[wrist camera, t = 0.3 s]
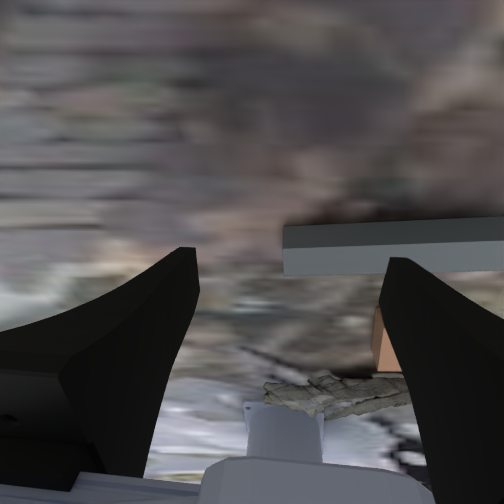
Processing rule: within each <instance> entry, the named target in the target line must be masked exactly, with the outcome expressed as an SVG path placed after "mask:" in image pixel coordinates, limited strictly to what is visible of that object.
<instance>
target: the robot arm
mask: <svg viewBox="0 0 504 504" xmlns="http://www.w3.org/2000/svg"><path fill="white" fill-rule="evenodd" d="M199 293H200V286H199V277H198V267H197V258H196V248H193V247H179V248H177V249H176V250H174V251H173V252H171V253H170V254H168V255H167V256H165V257H164V258H163V259H161V260H160V261H158V262H157V263H155V264H154V265H153V266H151V267H150V268H148V269H147V270H145V271H144V272H142V273H141V274H139V275H137V276H136V277H134V278H133V279H131V280H129V281H128V282H126V283H125V284H123V285H121V286H120V287H118V288H116V289H114V290H112V291H110V292H108V293H106V294H104V295H102V296H100V297H98V298H96V299H94V300H92V301H90V302H87V303H85V304H82V305H80V306H78V307H75V308H73V309H71V310H68V311H66V312H63V313H60V314H58V315H55V316H52V317H49V318H46V319H43V320H40V321H37V322H34V323H31V324H27V325H24V326H21V327H17V328H13V329H9V330H6V331H2V332H0V504H504V319H502V318H500V317H499V316H497V315H495V314H493V313H491V312H490V311H488V310H486V309H484V308H483V307H481V306H479V305H478V304H476V303H475V302H473V301H471V300H470V299H468V298H466V297H465V296H463V295H462V294H460V293H459V292H457V291H456V290H454V289H453V288H451V287H450V286H448V285H447V284H446V283H444V282H443V281H441V280H440V279H438V278H437V277H436V276H434V275H433V274H431V273H430V272H429V271H427V270H426V269H424V268H423V267H421V266H420V265H419V264H417V263H416V262H414V261H412V260H411V259H409V258H406V257H390V258H389V262H388V266H387V270H386V274H385V278H384V282H383V286H382V289H381V293H380V297H379V306H380V310H381V315H382V319H383V323H384V327H385V329H386V332H387V335H388V337H389V340H390V342H391V345H392V348H393V350H394V353H395V355H396V358H397V360H398V363H399V365H400V368H401V371H402V373H403V376H404V378H405V381H406V384H407V387H408V390H409V394H410V397H411V401H412V405H413V409H414V412H415V416H416V420H417V424H418V428H419V432H420V437H421V441H422V445H423V449H424V454H425V459H426V463H427V468H428V473H429V477H430V482H431V487H432V492H433V494H432V492H431V491H429V490H428V489H427V488H425V487H424V486H423V485H421V484H420V483H419V482H418V481H416V480H415V479H413V478H412V477H411V476H409V475H405V474H401V473H397V472H393V471H389V470H385V469H378V468H368V467H359V466H349V465H339V464H329V463H323V460H322V455H323V432H324V413H319V414H317V415H316V417H315V418H310V417H309V414H308V415H307V414H306V413H305V412H304V411H300V412H296V411H292V410H289V409H287V408H286V407H284V406H282V407H280V406H275V405H270V404H268V403H267V404H264V403H263V402H264V400H244V401H243V410H244V415H245V421H246V426H247V432H248V446H247V456H243V457H228V458H226V459H224V460H222V461H219V462H217V463H215V464H213V465H211V466H210V467H208V468H207V469H206V470H205V473H204V476H203V478H202V481H201V485H199V484H189V483H180V482H171V481H162V480H153V479H144V478H143V475H144V471H145V466H146V462H147V458H148V453H149V449H150V445H151V441H152V437H153V433H154V429H155V425H156V421H157V418H158V414H159V410H160V407H161V403H162V399H163V396H164V392H165V389H166V386H167V382H168V379H169V375H170V372H171V369H172V366H173V364H174V361H175V358H176V356H177V354H178V351H179V349H180V346H181V344H182V342H183V339H184V337H185V334H186V332H187V330H188V327H189V325H190V322H191V320H192V317H193V315H194V312H195V308H196V305H197V301H198V297H199ZM308 403H310V402H307V403H297V404H301V405H302V406H311V405H315V403H310V404H309V405H308Z"/></svg>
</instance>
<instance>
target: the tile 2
mask: <svg viewBox="0 0 504 504" xmlns="http://www.w3.org/2000/svg"><path fill="white" fill-rule="evenodd" d="M371 350H372V353H373V357H374V360H375V364H376V367H377V370H378V371H401V368H400V365H399V363H398V360H397V358H396V355H395V353H394V350H393V348H392V345H391V342H390V340H389V337H388V335H387V332H386V329H385V327H384V323H383V319H382V315H381V310H380V307H376V313H375V322H374V330H373V338H372V347H371Z"/></svg>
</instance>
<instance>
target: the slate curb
mask: <svg viewBox="0 0 504 504" xmlns="http://www.w3.org/2000/svg"><path fill="white" fill-rule="evenodd" d="M390 257H406V258H409V259H411V260H412V261H414V262H416V263H417V264H419V265H420V266H421V267H423V268H424V269H426V270H427V271H429V272H430V273H432V272H470V271H504V216H498V217H476V218H455V219H433V220H412V221H390V222H369V223H347V224H326V225H304V226H283V266H284V276H316V275H354V274H386V270H387V266H388V262H389V258H390Z"/></svg>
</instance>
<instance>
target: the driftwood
mask: <svg viewBox="0 0 504 504" xmlns="http://www.w3.org/2000/svg"><path fill="white" fill-rule="evenodd" d="M308 382H309V383H311V384H310V385H305V386H297V385H294V384H285V383H281V384H277V383H269V382H266V383H265V384H264V386H263V387H264V389H266V390H267V391H268V392H267V393H266V394H265V395H264V399H265V400H264V402H263V403H264V404H267V403H268V404H270V405H275V406H280V407H282V406H284V407H286V408H287V409H289V410H292V411H296V412H300V411H304V412H305V413H306V414H307V415H308V414H309V417H310V418H315V417H316V415H317V414H319V413H324V408H325V407H328V406H333V405H335V404H336V403H341V402H350V401H352V403H353V404H351V405H349V406H347V407H341V408H339V409H338V410H336V411H335V412H333V413H332V414H329V415H328V416H327V417H326V418H325V419H324V421H327V420H332V419H337V418H340V417H343V416H345V417H346V416H348V415H350V414H352V413H353V414H355V415H362V414H364V413H368V412H373V411H376V410H379V409H381V408H386V407H389V406H394V407H399V406H404V405H407V404H412V401H411V397H410V394H409V390H408V387H407V384H406V381H405V378H385V377H384V378H381V377H376V378H373V379H372V378H364V379H361V378H356V379H355V378H354V379H349V378H344V379H343V380H336V379H334V378H333V377H331V376H329V375H327V376H322V377H319V378H313V379H308ZM307 402H310V403H315V405H311V406H302V405H301V404H297V403H307ZM310 403H308V405H309V404H310Z"/></svg>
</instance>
